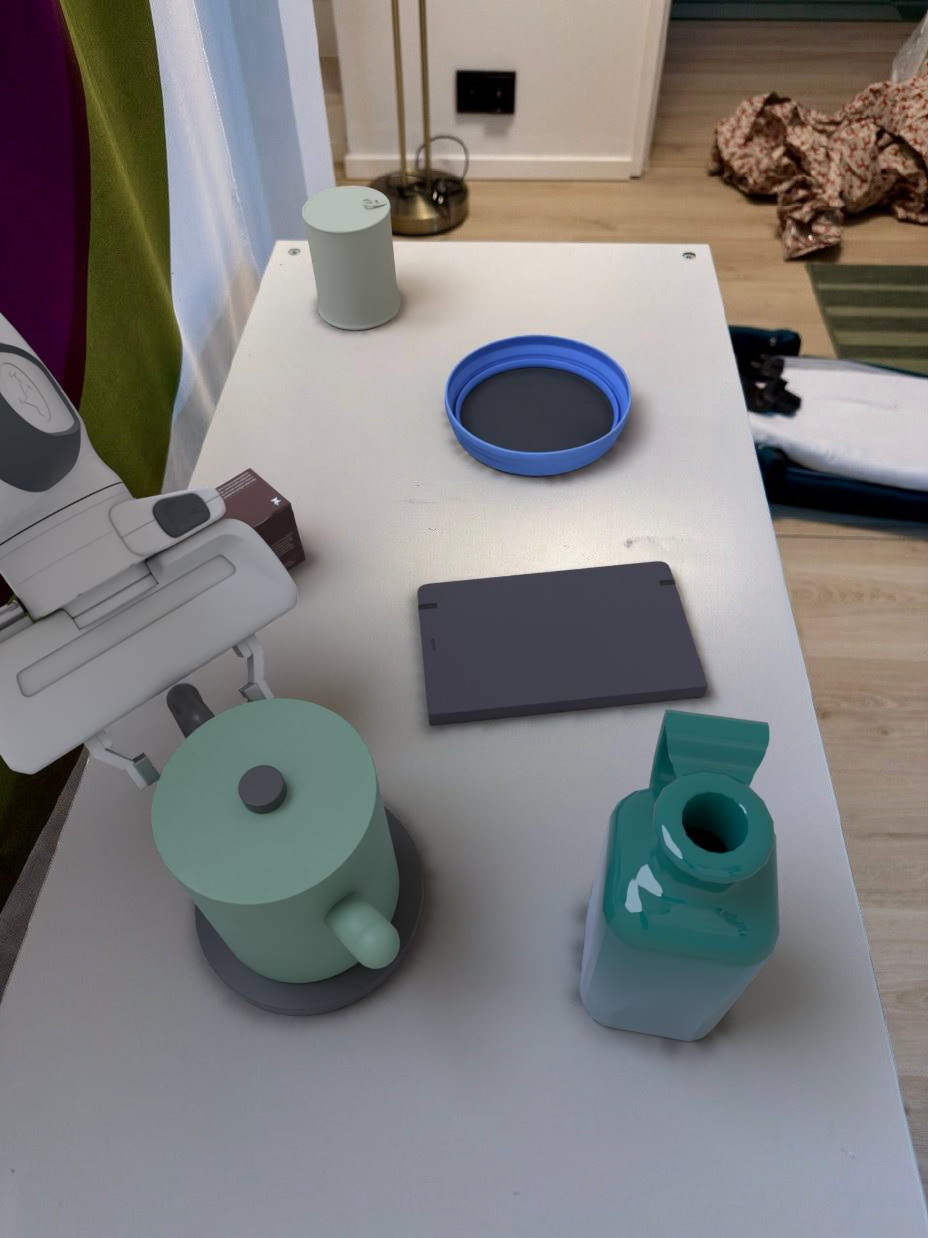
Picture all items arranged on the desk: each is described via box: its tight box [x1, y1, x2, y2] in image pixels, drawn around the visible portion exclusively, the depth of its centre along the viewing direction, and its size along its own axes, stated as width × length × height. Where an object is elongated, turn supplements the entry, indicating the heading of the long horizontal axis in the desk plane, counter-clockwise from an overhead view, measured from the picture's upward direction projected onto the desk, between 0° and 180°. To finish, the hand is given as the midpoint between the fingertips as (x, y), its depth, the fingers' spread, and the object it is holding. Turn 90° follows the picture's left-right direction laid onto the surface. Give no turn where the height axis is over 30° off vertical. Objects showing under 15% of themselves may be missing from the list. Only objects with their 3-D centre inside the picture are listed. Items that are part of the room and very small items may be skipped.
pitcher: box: [579, 708, 781, 1042], centre depth 49 cm, size 10×8×22 cm
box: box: [215, 467, 307, 572], centre depth 76 cm, size 6×6×7 cm
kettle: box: [150, 682, 400, 983], centre depth 53 cm, size 22×12×15 cm, turn 41°
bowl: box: [444, 334, 632, 477], centre depth 88 cm, size 18×18×4 cm
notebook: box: [417, 560, 708, 726], centre depth 72 cm, size 13×2×21 cm
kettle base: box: [194, 806, 425, 1017], centre depth 60 cm, size 15×15×2 cm
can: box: [301, 185, 401, 331], centre depth 97 cm, size 9×9×12 cm
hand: (209, 743), depth 58 cm, fingers open, 7 cm apart
